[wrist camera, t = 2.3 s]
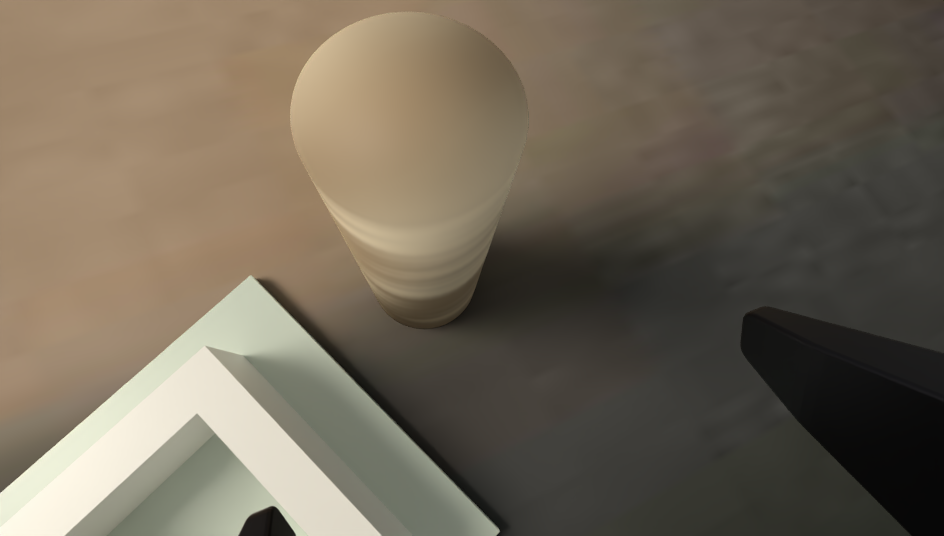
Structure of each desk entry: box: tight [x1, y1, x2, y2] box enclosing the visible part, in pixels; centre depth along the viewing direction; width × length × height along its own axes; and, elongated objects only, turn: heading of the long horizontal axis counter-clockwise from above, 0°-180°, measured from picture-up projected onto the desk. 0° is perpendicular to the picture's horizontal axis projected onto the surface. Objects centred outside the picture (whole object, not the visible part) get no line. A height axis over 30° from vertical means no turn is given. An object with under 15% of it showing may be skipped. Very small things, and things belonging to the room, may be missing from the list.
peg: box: [290, 12, 529, 329], centre depth 16 cm, size 4×4×13 cm
